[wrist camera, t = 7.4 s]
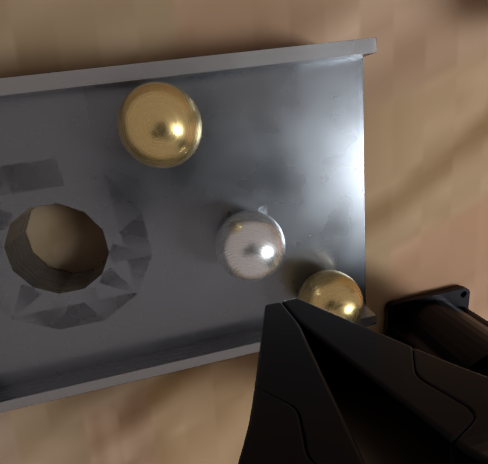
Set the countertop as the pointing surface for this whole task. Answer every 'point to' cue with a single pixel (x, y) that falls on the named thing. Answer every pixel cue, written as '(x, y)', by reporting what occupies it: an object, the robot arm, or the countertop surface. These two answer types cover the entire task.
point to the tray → (173, 212)
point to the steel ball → (250, 245)
